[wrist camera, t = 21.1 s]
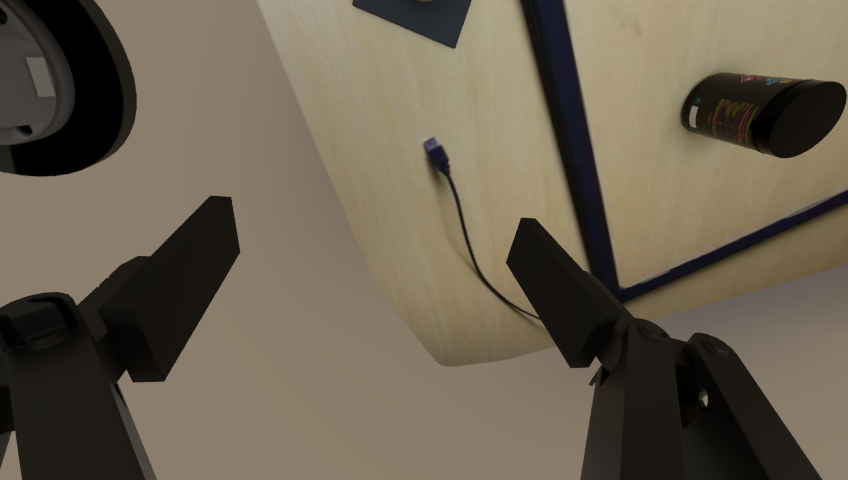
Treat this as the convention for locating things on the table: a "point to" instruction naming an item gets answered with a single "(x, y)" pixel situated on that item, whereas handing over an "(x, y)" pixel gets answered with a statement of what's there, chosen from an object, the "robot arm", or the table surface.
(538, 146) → the table surface
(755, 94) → the supplement container
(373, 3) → the mat
